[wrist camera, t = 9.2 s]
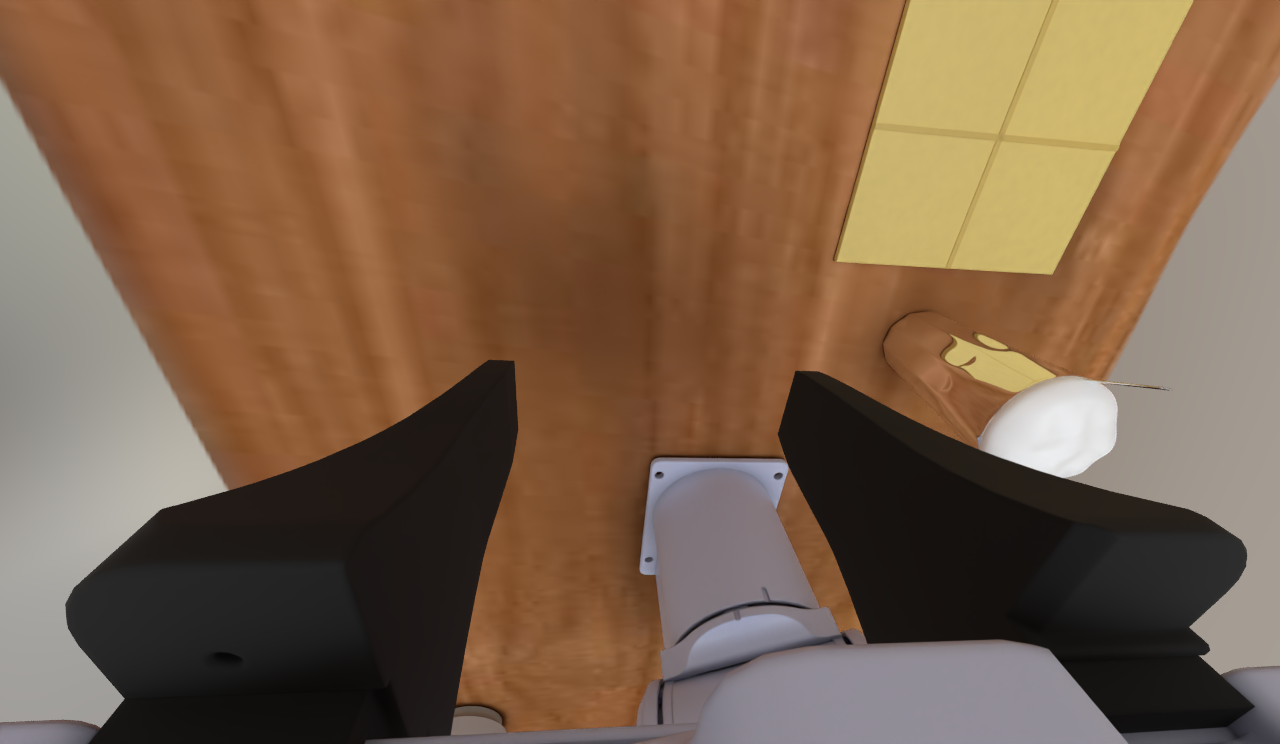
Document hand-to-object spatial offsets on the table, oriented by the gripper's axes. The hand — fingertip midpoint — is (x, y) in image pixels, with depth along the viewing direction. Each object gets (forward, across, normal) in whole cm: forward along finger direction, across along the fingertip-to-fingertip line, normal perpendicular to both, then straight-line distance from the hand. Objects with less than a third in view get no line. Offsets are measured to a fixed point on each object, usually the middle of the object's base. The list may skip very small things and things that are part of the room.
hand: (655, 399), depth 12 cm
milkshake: (+10, -15, +2) cm, 18 cm away
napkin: (+10, -15, -7) cm, 19 cm away
